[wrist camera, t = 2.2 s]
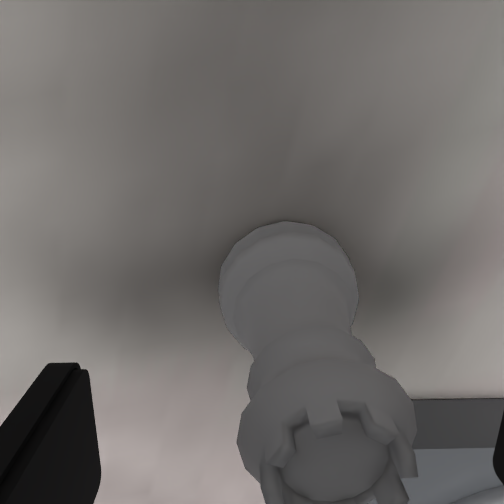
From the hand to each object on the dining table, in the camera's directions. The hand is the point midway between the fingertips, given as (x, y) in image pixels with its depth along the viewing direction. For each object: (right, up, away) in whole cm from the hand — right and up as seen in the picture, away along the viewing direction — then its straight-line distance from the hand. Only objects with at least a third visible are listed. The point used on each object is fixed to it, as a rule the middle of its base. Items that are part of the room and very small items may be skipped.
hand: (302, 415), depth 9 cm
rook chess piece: (0, +3, +5) cm, 6 cm away
